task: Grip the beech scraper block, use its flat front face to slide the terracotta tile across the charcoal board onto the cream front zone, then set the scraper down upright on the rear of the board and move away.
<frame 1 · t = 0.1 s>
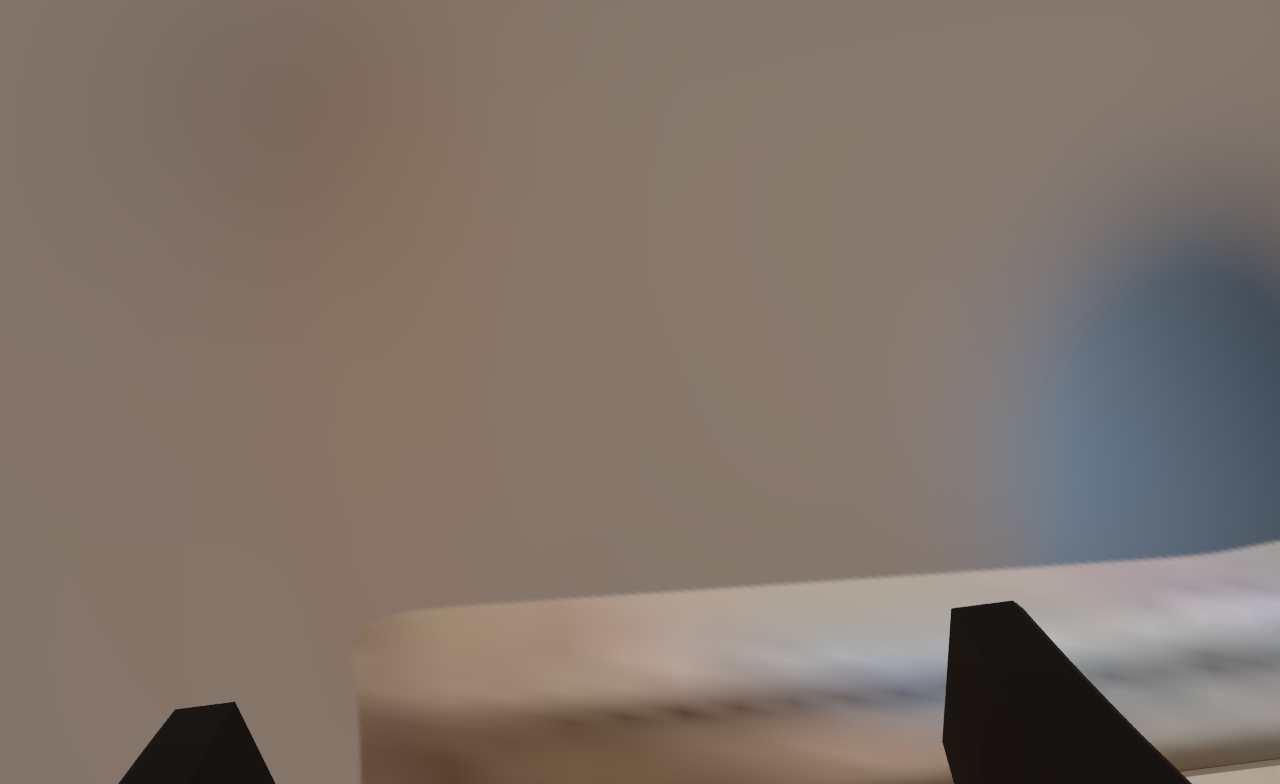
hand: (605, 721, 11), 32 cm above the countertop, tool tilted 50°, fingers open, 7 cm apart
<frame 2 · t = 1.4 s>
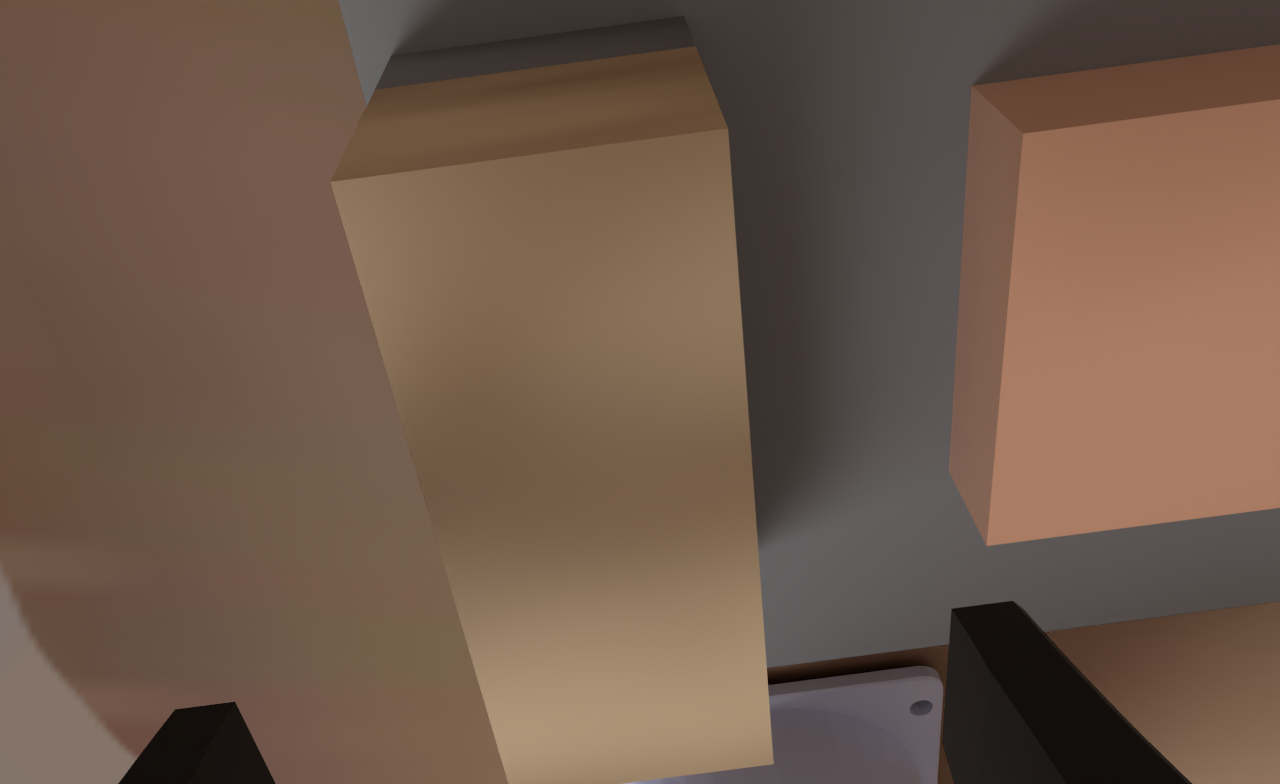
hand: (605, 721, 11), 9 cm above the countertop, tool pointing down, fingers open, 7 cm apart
tile: (1175, 271, 17), point 1 cm above the countertop, touching board
scraper block: (589, 349, 17), point 1 cm above the countertop, touching board
board: (1248, 217, 18), on the countertop
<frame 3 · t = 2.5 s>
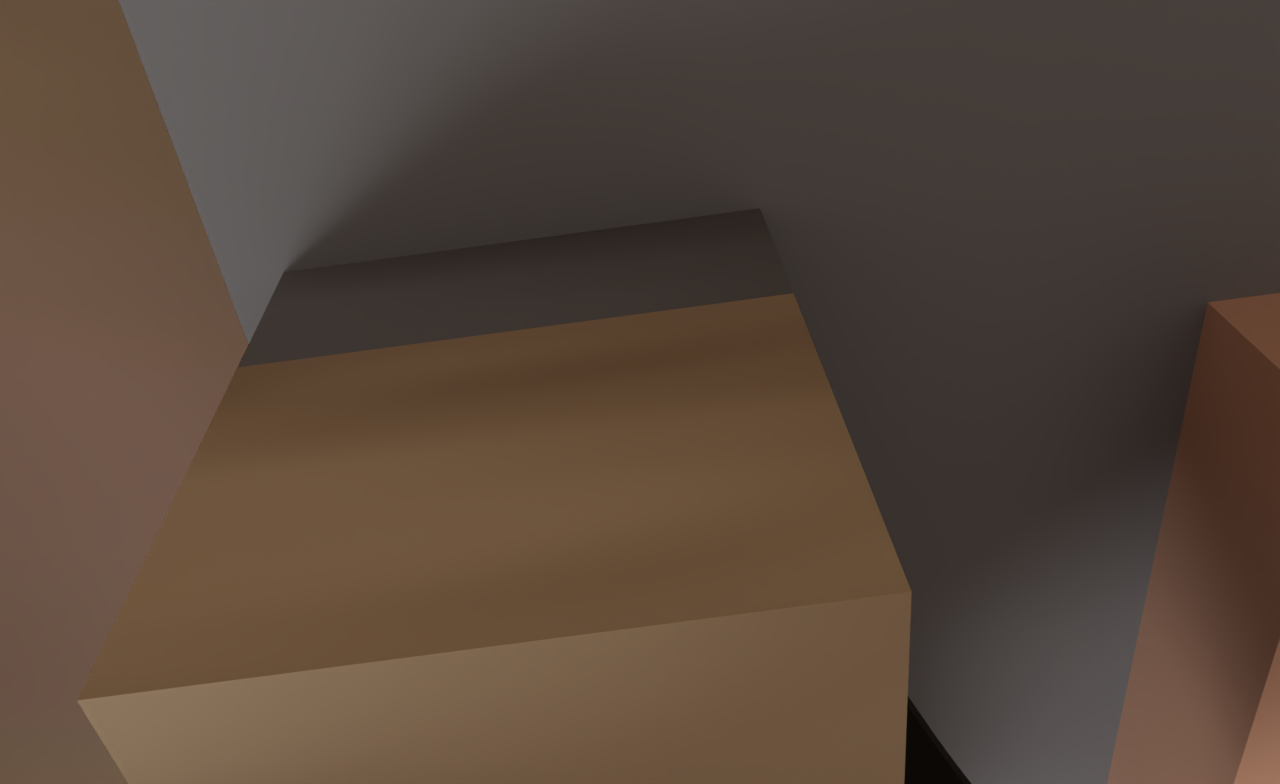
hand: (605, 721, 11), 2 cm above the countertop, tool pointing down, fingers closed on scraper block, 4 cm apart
scraper block: (602, 654, 12), point 1 cm above the countertop, touching board, gripper
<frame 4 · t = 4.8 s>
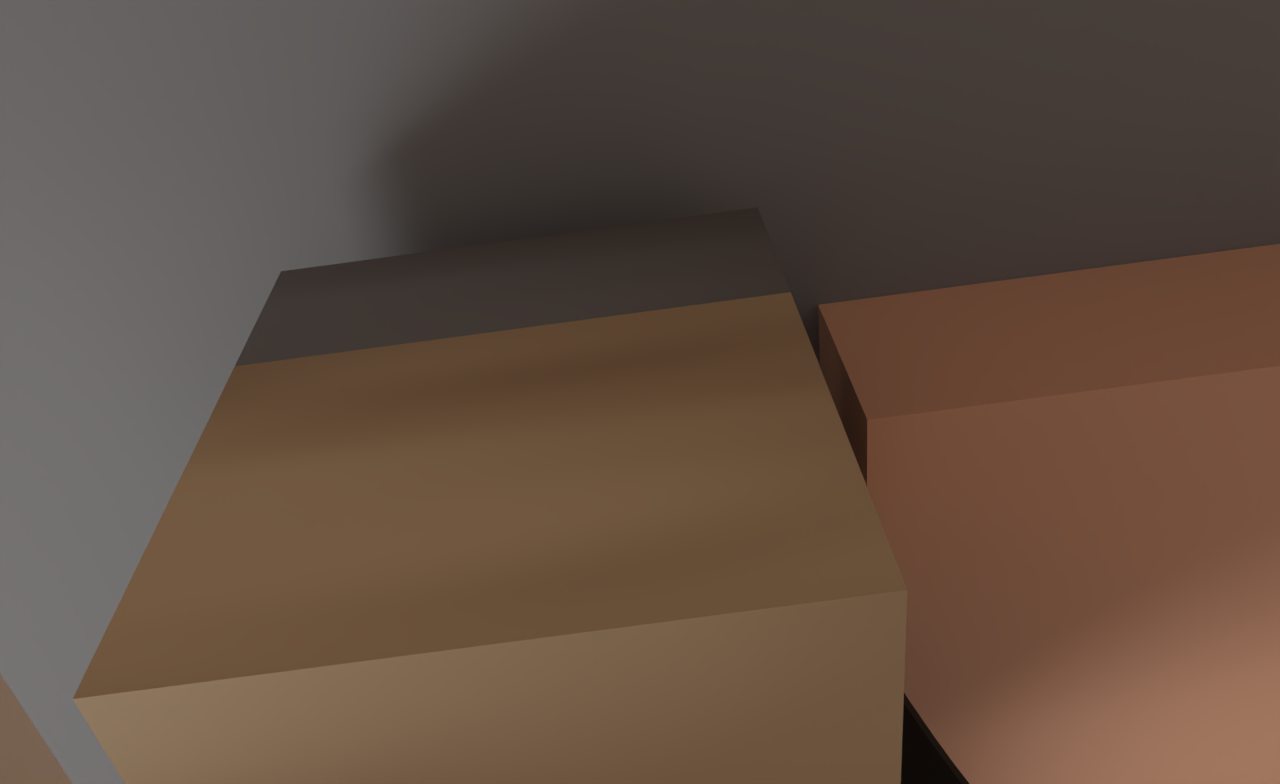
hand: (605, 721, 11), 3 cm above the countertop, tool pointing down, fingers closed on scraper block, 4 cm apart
tile: (1121, 526, 12), point 2 cm above the countertop, touching gripper
scraper block: (600, 653, 11), point 2 cm above the countertop, touching gripper
board: (1121, 441, 14), on the countertop
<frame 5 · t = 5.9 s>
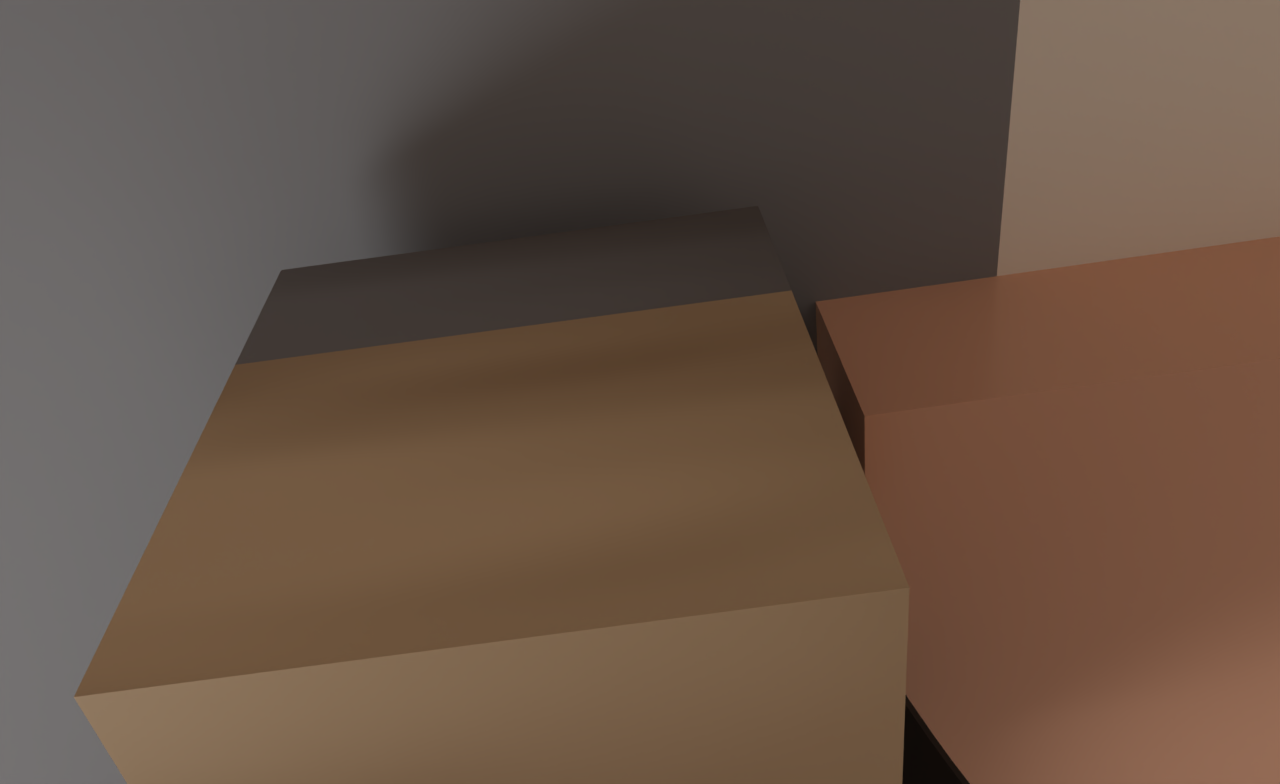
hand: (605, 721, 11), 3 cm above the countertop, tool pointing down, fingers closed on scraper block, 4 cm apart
tile: (1122, 521, 12), point 1 cm above the countertop, touching board, gripper
scraper block: (600, 652, 11), point 3 cm above the countertop, touching gripper
board: (628, 505, 14), on the countertop
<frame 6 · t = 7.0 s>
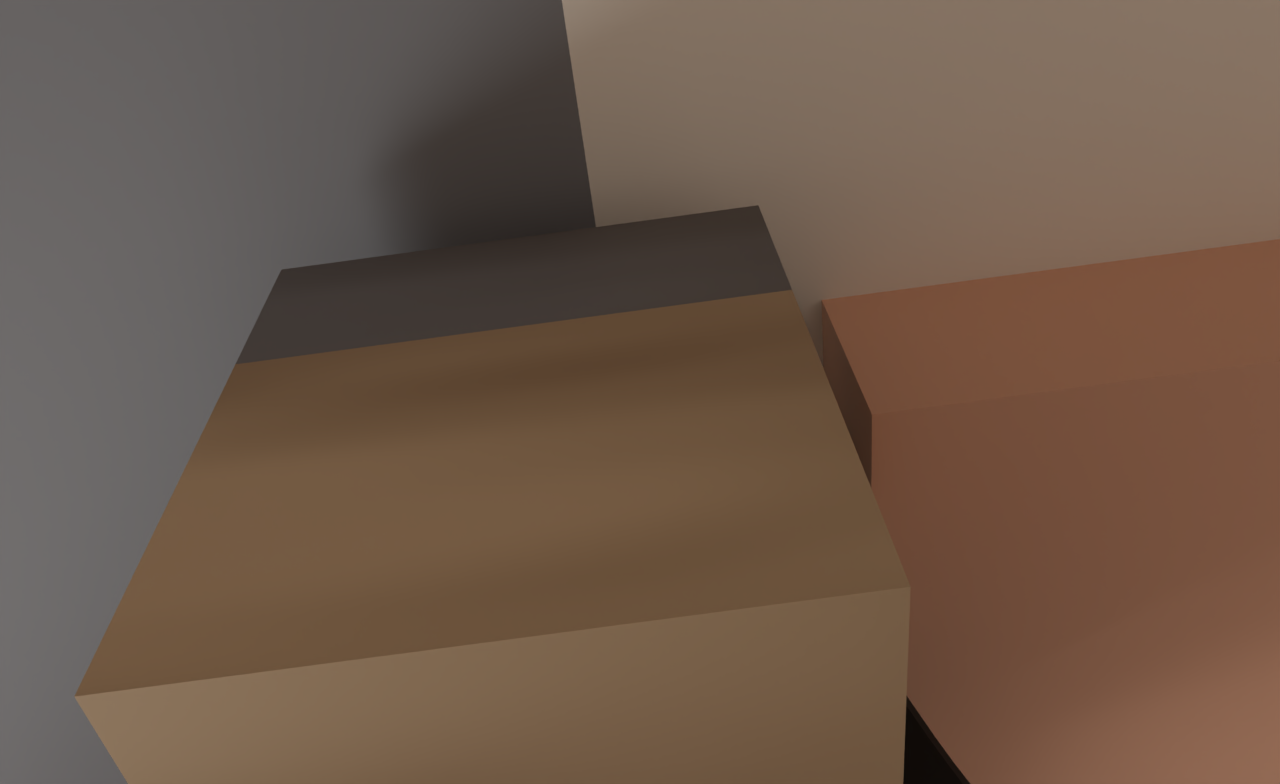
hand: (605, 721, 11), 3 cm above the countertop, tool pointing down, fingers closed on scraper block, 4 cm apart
tile: (1125, 522, 12), point 1 cm above the countertop, touching board, gripper
scraper block: (600, 652, 11), point 2 cm above the countertop, touching gripper
board: (335, 542, 14), on the countertop
when the fingers open (3 cm above the countertop, at t = 10.1 s): scraper block stays where it is, resting on board.
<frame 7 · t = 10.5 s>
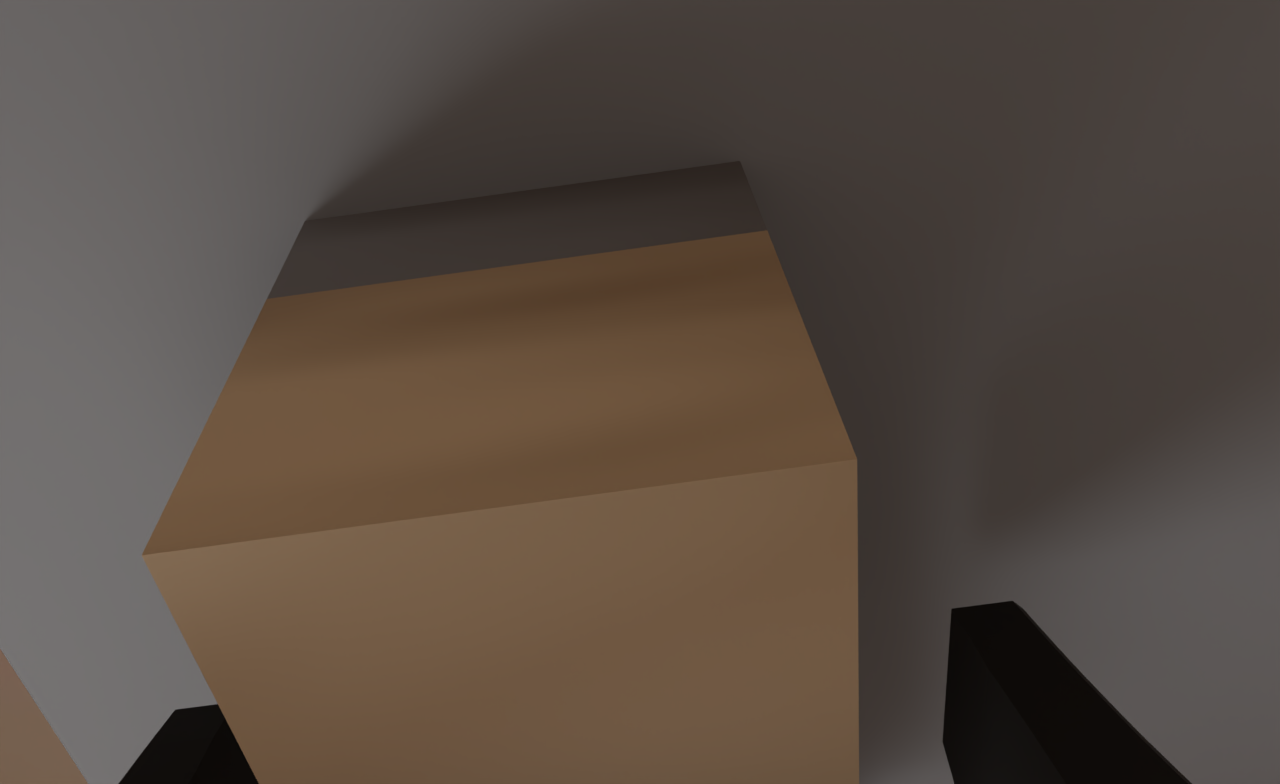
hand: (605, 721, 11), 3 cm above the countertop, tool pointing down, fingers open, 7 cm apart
scraper block: (598, 588, 12), point 1 cm above the countertop, touching board
board: (1135, 436, 14), on the countertop
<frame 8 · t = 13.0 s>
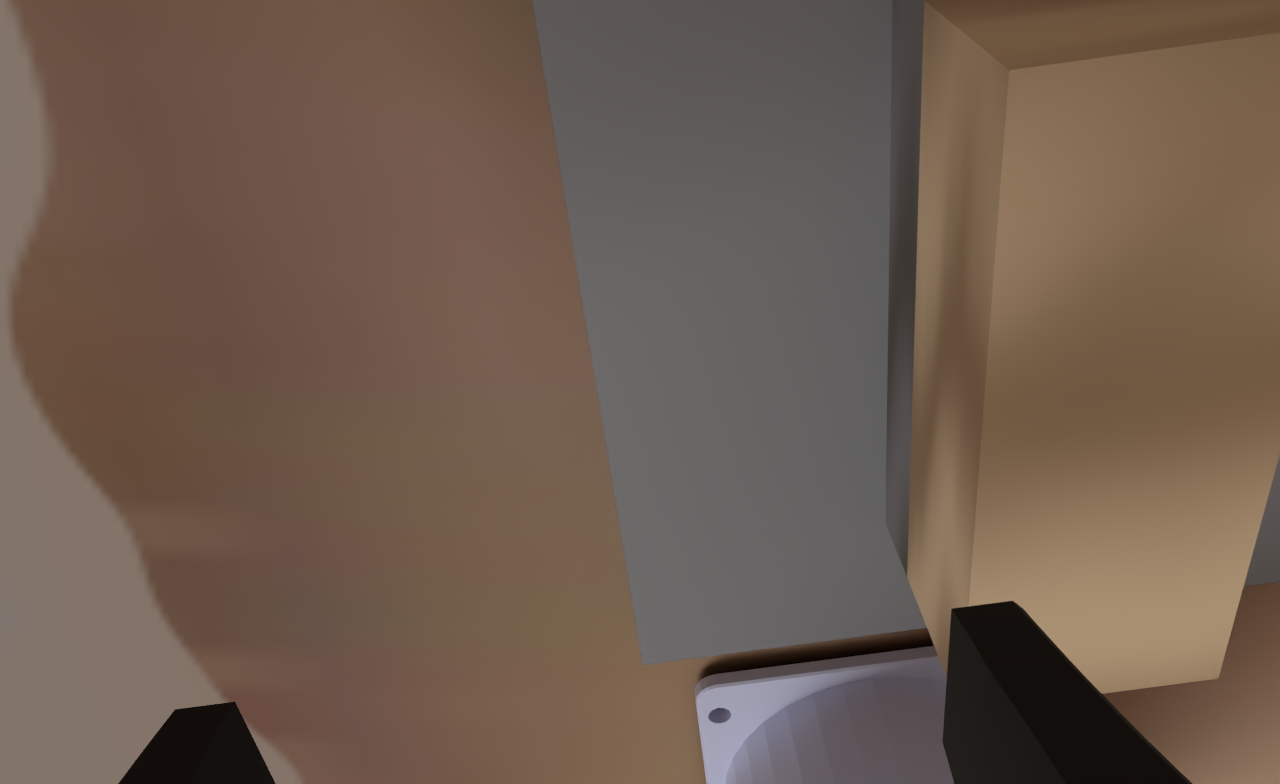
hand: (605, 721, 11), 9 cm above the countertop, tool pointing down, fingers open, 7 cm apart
scraper block: (1009, 276, 17), point 1 cm above the countertop, touching board
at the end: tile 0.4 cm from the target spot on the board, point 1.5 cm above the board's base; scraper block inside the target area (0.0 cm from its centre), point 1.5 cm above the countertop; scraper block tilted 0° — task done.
